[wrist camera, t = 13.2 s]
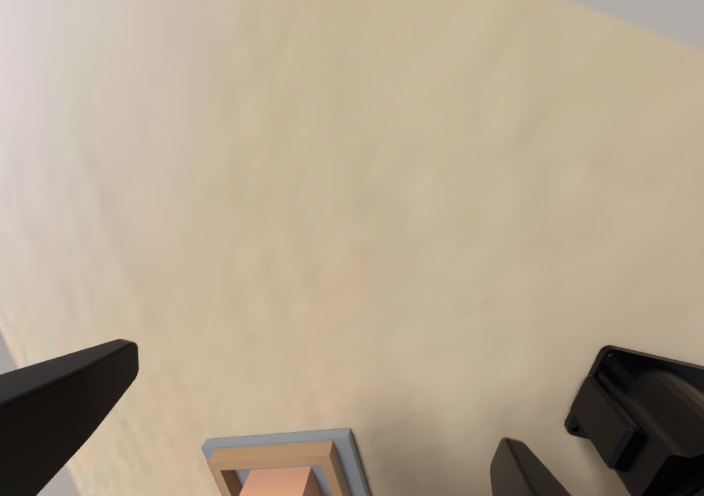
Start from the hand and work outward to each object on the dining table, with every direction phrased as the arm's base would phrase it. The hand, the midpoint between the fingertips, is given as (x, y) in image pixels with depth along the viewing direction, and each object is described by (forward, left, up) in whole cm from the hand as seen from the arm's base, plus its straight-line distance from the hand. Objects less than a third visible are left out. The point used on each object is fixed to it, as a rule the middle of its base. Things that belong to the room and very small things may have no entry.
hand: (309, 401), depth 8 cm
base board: (+2, +21, -13) cm, 25 cm away
